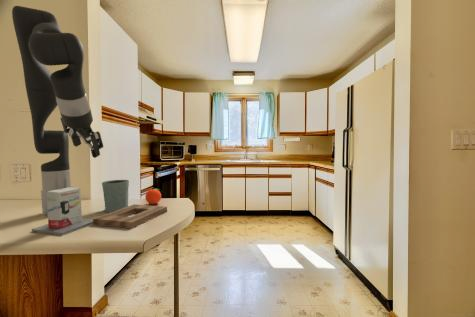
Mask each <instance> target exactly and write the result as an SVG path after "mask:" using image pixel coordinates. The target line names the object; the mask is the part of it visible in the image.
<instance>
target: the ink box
mask: <svg viewBox="0 0 475 317" xmlns="http://www.w3.org/2000/svg"><path fill="white" fill-rule="evenodd" d="M47 209H48V215H47V224H48V227H49V228H59V229H61V228H64V227H66V226H69V225H72V224H75V223H77V222H80V221H82V218H83V215H82V214H83V213H82V212H83V211H82V194H81V188H80V187H71V188H63V189H58V190H53V191H48V192H47Z"/></svg>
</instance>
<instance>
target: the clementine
mask: <svg viewBox="0 0 475 317" xmlns="http://www.w3.org/2000/svg"><path fill="white" fill-rule="evenodd" d="M160 190H161V189H159V188H151V189H149V190H147V192H146V194H144V195H145V198H144V199H145V201H146V202H147V203H148V204H149V205H155V204H158V203H159V202H160V201H161V200H162V193H161V191H160Z"/></svg>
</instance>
